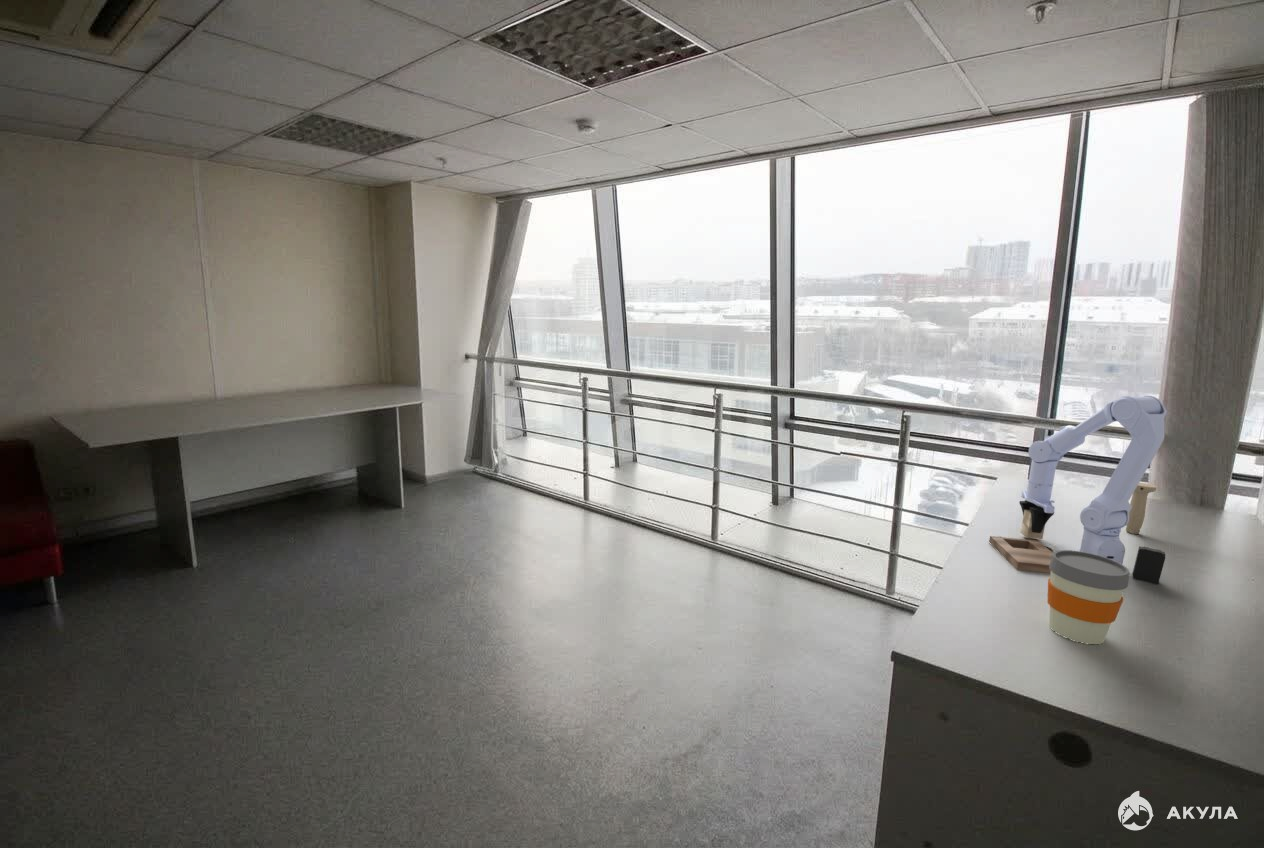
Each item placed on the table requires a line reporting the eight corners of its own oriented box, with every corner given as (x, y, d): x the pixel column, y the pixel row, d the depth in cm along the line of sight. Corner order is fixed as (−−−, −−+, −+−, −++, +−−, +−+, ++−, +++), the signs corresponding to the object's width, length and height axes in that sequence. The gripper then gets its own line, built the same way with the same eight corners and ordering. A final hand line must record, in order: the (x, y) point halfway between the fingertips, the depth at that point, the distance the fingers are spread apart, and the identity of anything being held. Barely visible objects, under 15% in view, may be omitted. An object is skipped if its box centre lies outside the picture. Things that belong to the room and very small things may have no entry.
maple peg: (1042, 539, 170) (1046, 515, 169) (1026, 537, 171) (1030, 514, 170) (1035, 534, 174) (1039, 510, 173) (1020, 532, 175) (1024, 509, 174)
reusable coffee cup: (1042, 610, 130) (1054, 544, 127) (1116, 632, 122) (1131, 562, 119) (1034, 633, 120) (1047, 562, 118) (1114, 658, 113) (1130, 582, 110)
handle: (1146, 537, 178) (1156, 488, 175) (1118, 531, 182) (1128, 483, 179) (1145, 533, 182) (1156, 485, 179) (1118, 527, 185) (1128, 480, 183)
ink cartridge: (1157, 581, 147) (1165, 551, 146) (1158, 585, 146) (1166, 553, 144) (1131, 575, 150) (1139, 545, 149) (1132, 578, 149) (1139, 547, 147)
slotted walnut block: (1070, 575, 149) (1071, 567, 149) (1017, 569, 151) (1018, 561, 151) (1036, 547, 166) (1037, 540, 166) (988, 542, 168) (990, 535, 168)
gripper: (1070, 492, 162) (1061, 540, 165) (1043, 477, 176) (1035, 522, 179) (1041, 489, 163) (1033, 537, 166) (1016, 475, 177) (1009, 519, 180)
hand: (1032, 529), depth 172 cm, fingers closed on maple peg, 4 cm apart
